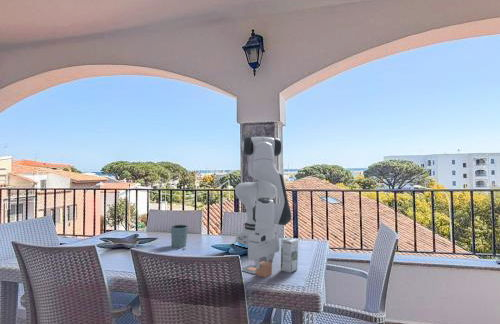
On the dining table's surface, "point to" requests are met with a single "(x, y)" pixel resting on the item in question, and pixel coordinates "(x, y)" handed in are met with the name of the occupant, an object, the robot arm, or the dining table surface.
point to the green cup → (179, 236)
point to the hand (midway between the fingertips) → (264, 265)
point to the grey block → (264, 259)
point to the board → (250, 269)
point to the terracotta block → (264, 269)
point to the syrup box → (289, 255)
